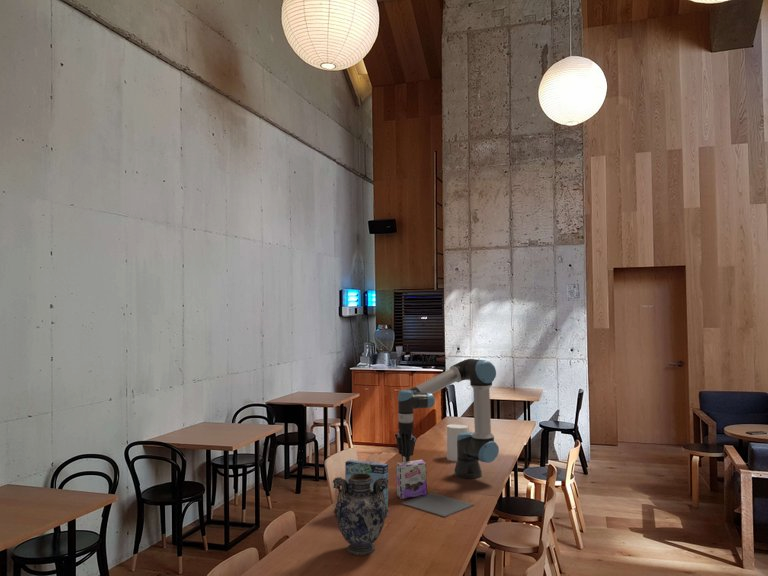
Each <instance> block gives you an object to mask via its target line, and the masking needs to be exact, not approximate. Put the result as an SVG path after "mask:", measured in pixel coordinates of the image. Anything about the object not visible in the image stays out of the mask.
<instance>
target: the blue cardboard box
mask: <svg viewBox="0 0 768 576" xmlns="http://www.w3.org/2000/svg"><path fill="white" fill-rule="evenodd" d="M344 466H345V469H344V470H345V474H344V475H345V476H344V478H345V480H346V481H347V482H348V480H349V478H351V476H352V475H354V474H368V475H370V476H371V478H373V480H374V481H373V483H371V484H370V487H371V488H370V490H371V491H373V484H374V482H375V481H376V480H378V479H379V478H383V477H384V478H387V480H388V481H389V463H381V462H375V461H374V462H371V461H366V460H365V461H364V460H354V459H348V460H346V461H345V465H344ZM348 486H349V488H348V491H351V490H352V489H351V487H352V485H351V484H350V483H349V482H348ZM380 488H381V489H382V487H381V486H380ZM383 492H384V495H385V503H386V507H387V508H388V507H389V506H388V505H389V487H388V488H386V489H383ZM388 509H389V508H388ZM388 515H389V512H388V513H387V516H386V518H387V517H388Z"/></svg>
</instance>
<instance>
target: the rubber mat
mask: <svg viewBox="0 0 768 576" xmlns="http://www.w3.org/2000/svg"><path fill="white" fill-rule="evenodd" d="M401 505H403V506H406V505H407V506H406V507H409V506H410V507H409V508H412V507H414V509H416V510H419V509H420V511H422V510H423V511H422V512H425V513H428V514H432V513H433V514H432V515H435V514H436V516H438V515H439V516H438V517H441V516H442V518H447V517H449V515H450V516H451V514H452V515H454V513H455V514H457V513H459V511H460V512H462V511H465V510H467V509H470V508H471V506H472V507H475V504H474V503H470V502H467V501H463V500H460V499H456V498H452V497H450V496H447V495H446V496H445V495H441V494H439V493H435V492H429V493H427V495H424V496H418V497H413V498H411V499H409V500H405V501H403V502H401ZM469 507H470V508H469ZM464 509H465V510H464ZM461 510H462V511H461ZM456 512H457V513H456Z"/></svg>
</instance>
